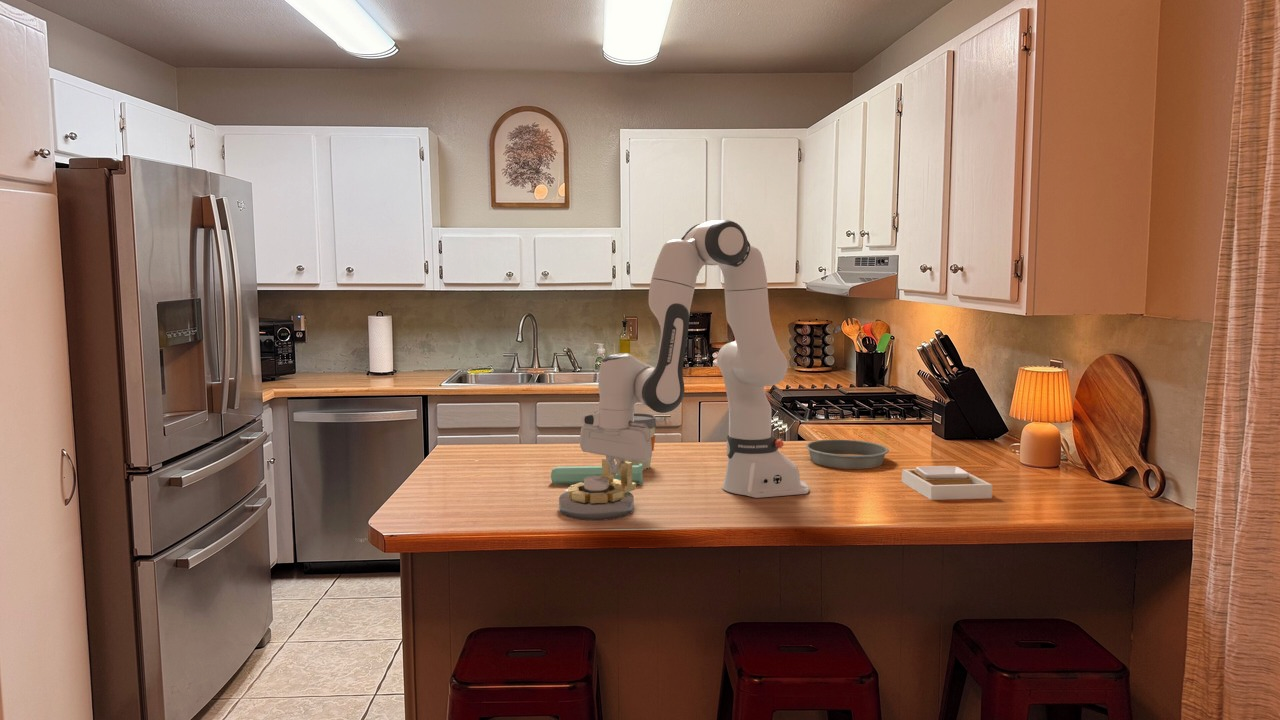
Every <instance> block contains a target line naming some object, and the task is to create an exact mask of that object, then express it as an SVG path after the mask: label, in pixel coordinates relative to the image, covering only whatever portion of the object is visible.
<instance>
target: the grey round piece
mask: <svg viewBox="0 0 1280 720" xmlns="http://www.w3.org/2000/svg"><path fill="white" fill-rule="evenodd" d="M562 491H563V493H561V494H560V495H559V497H558V510H559V511H558V512H559V513H560V514H561V515H562V516H564V517H567V518H571V519H575V520H584V521H605V520H604V519H608V520H614V519H613V518H615V519H619V517H620V518H622V517H623V518H624V517H626V516H629V515H630V514H632V513H633V512H634V508H635V506H634V505H635V504H634V503H635V499H634V494H633V493H632V492H631V491H630V492H627V493H625V497H623V498H622V499H620V500H617V501H614V502H611V501H608V503H590V501H589V502H586V503H582V502H578V501H573V500H572V499H569V496H568V488H566V489H562ZM584 492H588V493H606V492H609V478H608V477H605V476H589V477H586V478H584ZM632 511H633V512H632ZM631 512H632V513H631ZM628 514H629V515H628Z"/></svg>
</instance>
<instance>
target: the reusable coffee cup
mask: <svg viewBox="0 0 1280 720" xmlns="http://www.w3.org/2000/svg"><path fill="white" fill-rule="evenodd" d="M656 421H657V420H656V415H653V414H649V413H648V414H647V413H640V412H639V413H634V422H638V423H645V424H646V425H647V426H648V427H649V428H650V430H651V444H652V452H654V449H655V443H656V442H655V441H656V435H655V430H656V427H657V423H656ZM645 428H647V427H645ZM625 461H627V462H632V465H639V464H642V469H645V470H647V469H646V468H648V469H650V468H651V463H652V457H651V458H650V460H648V461H644V462H640V461H634V460H628V459H625ZM649 467H650V468H649Z"/></svg>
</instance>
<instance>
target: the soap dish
mask: <svg viewBox="0 0 1280 720" xmlns="http://www.w3.org/2000/svg"><path fill="white" fill-rule="evenodd" d="M915 469H916V470H914V471H913V472H914V474H915V475H916V476H918V477H920V478H922V479H923V480H925V481H927V482H929V483H931V484H932V485H960V484H971V482H972V479H971V478H970V477H968V476H969V474H970V472H968V471H966V470H964V469H962V468H961V467H958V466H954V465H938V466H937V465H936V466H935V465H934V466H933V465H932V466H931V465H928V466H927V465H926V466H916V467H915Z"/></svg>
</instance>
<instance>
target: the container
mask: <svg viewBox="0 0 1280 720" xmlns="http://www.w3.org/2000/svg"><path fill="white" fill-rule="evenodd" d="M550 472H551V473H550V479H551V482H552V483H551V484H553V485H574V484H577V483H580V482H582V483H584V478H586V477H589V476H602V465H585V466H584V465H583V466H580V465H579V466H555V467H553V468H552V469H551V471H550ZM643 476H644V475H643V470H642V464H639V465H632V482H633V483H636V485H639V484H644V481H643V478H644V477H643ZM613 479H617V480H621V474H620V475H614V474H613Z"/></svg>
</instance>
